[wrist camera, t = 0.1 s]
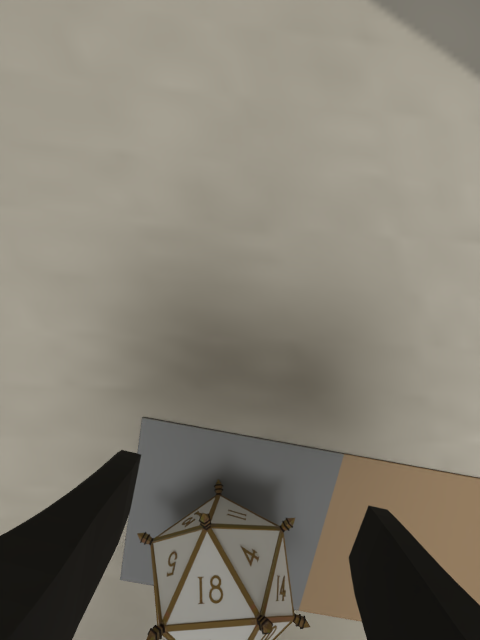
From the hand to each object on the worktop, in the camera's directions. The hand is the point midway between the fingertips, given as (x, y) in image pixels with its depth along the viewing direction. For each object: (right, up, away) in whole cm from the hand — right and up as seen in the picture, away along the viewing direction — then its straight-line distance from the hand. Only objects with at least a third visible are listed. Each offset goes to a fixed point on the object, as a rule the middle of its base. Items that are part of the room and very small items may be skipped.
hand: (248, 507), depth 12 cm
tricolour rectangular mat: (+11, -9, +12) cm, 19 cm away
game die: (-1, -7, +12) cm, 14 cm away
